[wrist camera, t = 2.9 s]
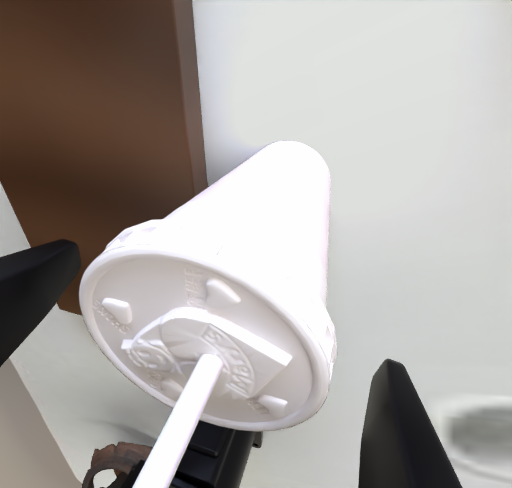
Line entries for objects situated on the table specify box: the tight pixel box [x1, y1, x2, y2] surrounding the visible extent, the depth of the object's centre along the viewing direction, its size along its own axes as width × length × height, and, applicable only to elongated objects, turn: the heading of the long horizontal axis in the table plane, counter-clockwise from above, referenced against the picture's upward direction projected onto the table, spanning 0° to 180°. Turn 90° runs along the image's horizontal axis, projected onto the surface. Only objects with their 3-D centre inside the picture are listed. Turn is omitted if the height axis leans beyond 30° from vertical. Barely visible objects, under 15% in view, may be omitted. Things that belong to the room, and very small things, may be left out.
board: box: [0, 0, 207, 316], centre depth 19 cm, size 20×12×2 cm, turn 0°
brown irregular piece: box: [82, 442, 153, 488], centre depth 39 cm, size 12×10×8 cm
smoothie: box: [79, 141, 338, 488], centre depth 10 cm, size 6×6×14 cm
